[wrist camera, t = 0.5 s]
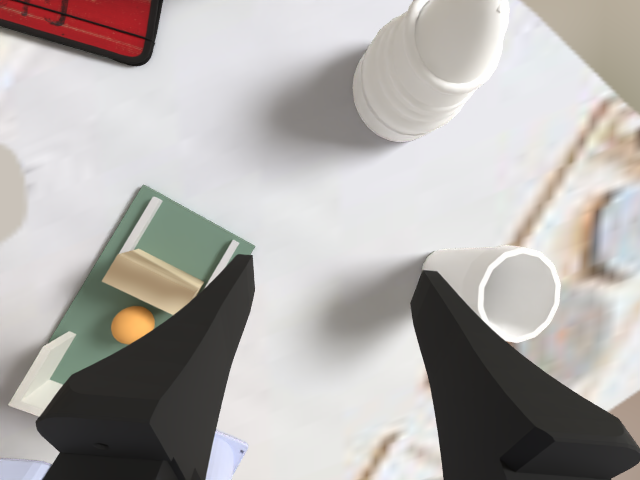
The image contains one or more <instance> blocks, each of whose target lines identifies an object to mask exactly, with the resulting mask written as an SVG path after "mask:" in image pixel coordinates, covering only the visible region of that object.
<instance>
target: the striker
mask: <svg viewBox="0 0 640 480" xmlns="http://www.w3.org/2000/svg"><path fill="white" fill-rule="evenodd" d="M102 282H104V283H106V284H108V285H111V286H113V287H115V288H117V289H119V290H121V291H123V292H125V293H127V294H130V295H132V296H134V297H136V298H138V299H140V300H142V301H144V302H147V303H149V304H151V305H153V306H155V307H157V308H159V309H161V310H163V311H166V312H168V313H170V314H172V315H174V314H175V313H177V312H178V311H179V310H180V309H182V308H183V307H184V306H185V305H187V304H188V303H189V302H190V301H191V300H192V299H193V298H195V297H196V296H197V294H198V292H199V290H200V289H201V287H202V285H203V284H204V281H202V280H200V279H198V278H196V277H194V276H192V275H190V274H188V273H186V272H184V271H182V270H180V269H178V268H176V267H174V266H172V265H170V264H168V263H166V262H164V261H162V260H160V259H158V258H156V257H154V256H152V255H150V254H148V253H146V252H144V251H142V250H140V249H136V250H132V251H128V252H124V253H120V254H118V255H117V256H116V258H115V260H114V261H113V263H112V265H111V266H110V268H109V270H108V271H107V273H106V275H105V276H104V278H103V280H102Z"/></svg>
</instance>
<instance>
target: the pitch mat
mask: <svg viewBox="0 0 640 480" xmlns="http://www.w3.org/2000/svg"><path fill="white" fill-rule="evenodd" d="M254 248H255V246H254V245H252V244H251V243H249V242H247V241H245V240H243V239H242V238H240V237H238V236H236V235H234V234H233V233H231V232H229V231H227V230H225V229H224V228H222V227H220V226H218V225H216V224H214V223H213V222H211V221H209V220H207V219H205V218H204V217H202V216H200V215H198V214H196V213H195V212H193V211H191V210H189V209H187V208H186V207H184V206H182V205H180V204H178V203H177V202H175V201H173V200H171V199H169V198H168V197H166V196H164V195H162V194H160V193H158V192H157V191H155V190H153V189H151V188H149V187H148V186H146V185H143V186H142V187H141V189H140V191H139V192H138V194H137V196H136V197H135V199H134V201H133V202H132V204H131V206H130V207H129V209H128V211H127V212H126V214H125V216H124V217H123V219H122V221H121V222H120V224H119V226H118V227H117V229H116V231H115V232H114V234H113V236H112V237H111V239H110V241H109V242H108V244H107V246H106V247H105V249H104V251H103V252H102V254H101V256H100V257H99V259H98V261H97V262H96V264H95V266H94V267H93V269H92V271H91V272H90V274H89V276H88V277H87V279H86V281H85V282H84V284H83V286H82V287H81V289H80V291H79V292H78V294H77V296H76V297H75V299H74V301H73V302H72V304H71V306H70V307H69V309H68V311H67V312H66V314H65V316H64V317H63V319H62V321H61V322H60V324H59V326H58V327H57V329H56V331H55V332H54V334H53V336H52V337H51V339H50V341H49V342H48V343H50V342H52V341H53V340H55V339H57V338H58V337H60V336H62V335H63V334H65V333H67V332H68V331H70V332H73V333H75V334H76V336H75V338H74V339H73V341H72V343H71V344H70V346H69V348H68V349H67V351H66V353H65V354H64V356H63V358H62V359H61V361H60V363H59V364H58V366H57V368H56V369H55V371H54V373H53V374H52V376H51V378H50V380H52V381H55V382H57V383H60V384H64V383H65V382H66V381H67V380H68V378H69V377H70V376H71V375H72V374H74V373H76V372H78V371H80V370H82V369H84V368H86V367H88V366H90V365H92V364H94V363H96V362H98V361H100V360H102V359H104V358H106V357H108V356H110V355H112V354H113V353H115V352H117V351H119V350H121V349H122V348H124V347H126V346H128V344H123V343H120V342H119V341H117V340H116V339H115V338H114V336H113V335H112V331H111V324H112V321H113V319H114V317H115V316H116V315H117V314H118V313H119V312H120V311H121V310H123V309H125V308H128V307H131V306H141V307H144V308H146V309H148V310H149V311H150V312H151V313H152V314H153V316H154V320H155V325H154V329H155V328H156V327H158V326H159V325H160V324H162V323H163V322H165V321H166V320H167V319H169V318H170V317H171V316H173V315H172V314H170V313H168V312H166V311H163V310H161V309H159V308H157V307H155V306H153V305H151V304H149V303H147V302H144V301H142V300H140V299H138V298H136V297H134V296H132V295H130V294H127V293H125V292H123V291H121V290H119V289H117V288H115V287H113V286H111V285H108V284H106V283H104V282H102V280H103V278H104V276H105V275H106V273H107V271H108V270H109V268H110V266H111V265H112V263H113V261H114V260H115V258H116V256H117V255H118V254H120V253H124V252H128V251H132V250H136V249H140V250H142V251H144V252H146V253H148V254H150V255H152V256H154V257H156V258H158V259H160V260H162V261H164V262H166V263H168V264H170V265H172V266H174V267H176V268H178V269H180V270H182V271H184V272H186V273H188V274H190V275H192V276H194V277H196V278H198V279H200V280H202V281H204V284H203V285H202V287H201V289H200V290H199V292H198V294H199V293H200V292H201V291H202V290H203V289H204V288H206V287H207V286H208V285H209V284H210V283H211V282H212V281H213V280H214V279H215V278H216V277H217V276H218V275H219V273H220V272H221V271H222V270H223V269H224V268H225V267H226V266H227V265H228V264H229V263H230V262H231V260H232V259H233V258H234V257H235V256H236V255H237V254H244V255H251V253H252V251H253V249H254ZM198 294H197V295H198Z"/></svg>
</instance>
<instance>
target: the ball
mask: <svg viewBox="0 0 640 480" xmlns="http://www.w3.org/2000/svg"><path fill="white" fill-rule="evenodd" d="M154 325H155V320H154V316H153V314H152V313H151V312H150V311H149V310H148V309H146V308H144V307H141V306H131V307H128V308H125V309H123V310H121V311H120V312H119V313H118V314H117V315H116V316H115V317H114V319H113V321H112V324H111V331H112V335H113V336H114V338H115V339H116V340H117V341H119V342H120V343H123V344H128V345H129V344H131V343H133V342H134V341H136V340H138V339H139V338H141V337H143V336H144V335H146V334H147V333H149V332H150V331H152V330H153V329H154Z"/></svg>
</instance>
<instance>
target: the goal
mask: <svg viewBox="0 0 640 480" xmlns="http://www.w3.org/2000/svg"><path fill="white" fill-rule="evenodd" d="M75 336H76V334H75V333H73V332H70V331H68V332H67V333H65V334H63V335H62V336H60V337H58V338H57V339H55V340H53V341H52V342H50V343H48V344H46V345H45V346H43V348H42V349H41V351H40V353H39V354H38V356H37V358H36V359H35V361H34V363H33V364H32V366H31V368H30V369H29V371H28V373H27V374H26V376H25V378H24V379H23V381H22V382H21V384H20V386H19V387H18V389H17V391H16V392H15V394H14V396H13V397H12V399H11V401H10V402H9V404H8V406H11V407H14V408H17V409H19V410H22V411H25V412H28V413H30V414H33V415H36V416H38V417H40V415H41V414H42V412H43V411H44V410H45V408H46V407H47V406H48V404H49V403H50V402H51V400H52V399H53V398H54V396H55V395H56V393H57V392H58V391H59V389H60V388H61V387H62V385H63V384H60V383H57V382H55V381H52V380H50V378H51V376H52V374H53V373H54V371H55V369H56V368H57V366H58V364H59V363H60V361H61V359H62V358H63V356H64V354H65V353H66V351H67V349H68V348H69V346H70V344H71V343H72V341H73V339H74V338H75Z"/></svg>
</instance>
